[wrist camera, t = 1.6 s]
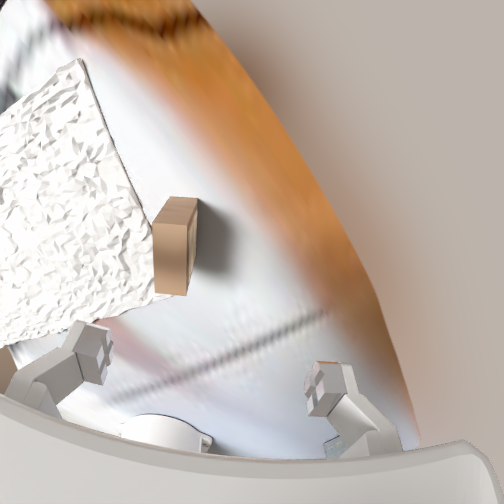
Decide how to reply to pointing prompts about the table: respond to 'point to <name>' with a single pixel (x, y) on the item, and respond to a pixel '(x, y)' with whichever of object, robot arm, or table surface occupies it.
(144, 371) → the table surface
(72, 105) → the carpet tile
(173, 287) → the brown rectangular block
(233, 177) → the table surface
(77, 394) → the table surface
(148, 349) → the table surface
